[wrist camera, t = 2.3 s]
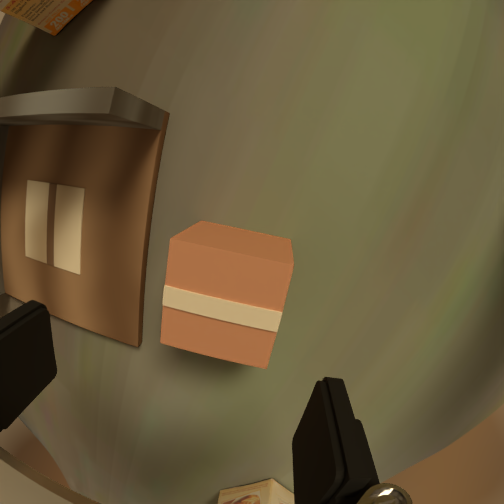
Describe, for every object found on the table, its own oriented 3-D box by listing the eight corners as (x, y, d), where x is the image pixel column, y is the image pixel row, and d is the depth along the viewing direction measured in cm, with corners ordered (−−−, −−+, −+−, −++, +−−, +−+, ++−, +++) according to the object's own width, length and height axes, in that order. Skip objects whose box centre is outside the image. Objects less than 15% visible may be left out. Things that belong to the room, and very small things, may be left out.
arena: (169, 113, 17) (115, 86, 10) (142, 341, 21) (98, 396, 14) (10, 113, 18) (-48, 108, 11) (3, 286, 22) (-46, 311, 15)
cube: (290, 239, 18) (294, 266, 13) (270, 320, 20) (266, 370, 14) (201, 220, 19) (169, 238, 13) (189, 301, 20) (159, 343, 15)
